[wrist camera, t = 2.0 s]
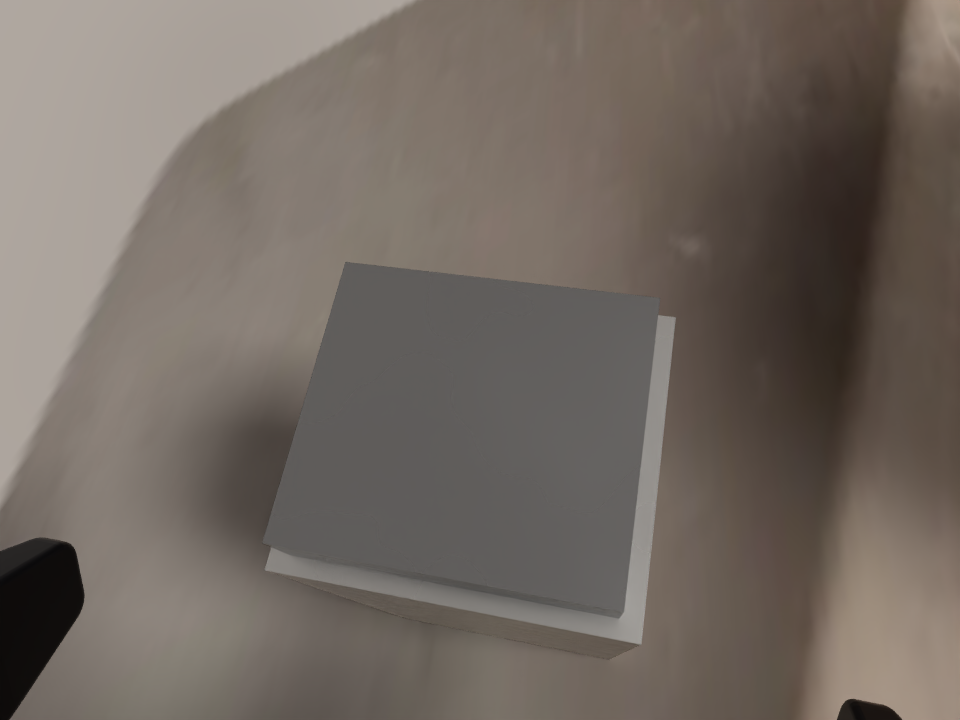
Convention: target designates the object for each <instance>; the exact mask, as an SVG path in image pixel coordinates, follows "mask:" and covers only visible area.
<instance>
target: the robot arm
mask: <svg viewBox="0 0 960 720" xmlns="http://www.w3.org/2000/svg"><path fill="white" fill-rule="evenodd" d="M84 596H85V595H84V589H83V584H82V579H81V574H80V569H79V564H78V559H77V554H76V551H75V549H74V547H73V546H72V545H71V544H69V543H67V542H64V541H59V540H54V539H49V538H35V539H32V540H29V541H26V542H24V543H21V544H18V545H16V546H13V547H10V548H8V549H5V550H2V551H0V720H10V718H11V717H12V715H13V714H14V712H15V711H16V710H17V708H18V707H19V705H20V704H21V702H22V701H23V699H24V698H25V696H26V695H27V693H28V692H29V690H30V689H31V687H32V686H33V684H34V683H35V681H36V680H37V678H38V676H39V675H40V673H41V672H42V670H43V669H44V667H45V666H46V664H47V663H48V661H49V660H50V658H51V657H52V655H53V654H54V652H55V651H56V649H57V648H58V646H59V645H60V643H61V642H62V640H63V639H64V637H65V636H66V634H67V633H68V631H69V630H70V628H71V627H72V625H73V624H74V622H75V621H76V619H77V618H78V616H79V614H80V612H81V610H82V607H83V603H84ZM837 720H902V719H901V718H900V716H899V715H898V714H897V713H896V712H895V711H893V710H892V709H891V708H889V707H887V706H885V705H881V704H876V703H871V702H866V701H861V700H856V699H849V700H847V701H845V702H844V704H843V705H842V707H841V709H840V712H839V715H838V718H837Z"/></svg>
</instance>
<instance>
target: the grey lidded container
mask: <svg viewBox="0 0 960 720" xmlns="http://www.w3.org/2000/svg"><path fill="white" fill-rule="evenodd" d="M659 304H660V298H656V297H647V296H639V295H630V294H621V293H612V292H604V291H595V290H586V289H577V288H569V287H560V286H551V285H542V284H534V283H525V282H516V281H507V280H499V279H490V278H481V277H472V276H464V275H455V274H446V273H437V272H429V271H420V270H411V269H402V268H394V267H385V266H376V265H367V264H359V263H350V262H345V265H344V269H343V272H342V275H341V279H340V282H339V286H338V289H337V292H336V296H335V299H334V302H333V306H332V309H331V313H330V316H329V319H328V323H327V326H326V329H325V333H324V336H323V340H322V343H321V346H320V350H319V353H318V356H317V360H316V363H315V366H314V370H313V373H312V377H311V380H310V383H309V387H308V390H307V393H306V397H305V400H304V404H303V407H302V410H301V414H300V417H299V420H298V424H297V427H296V431H295V434H294V437H293V441H292V444H291V447H290V451H289V454H288V457H287V461H286V464H285V468H284V471H283V474H282V478H281V481H280V484H279V488H278V491H277V495H276V498H275V501H274V505H273V508H272V511H271V515H270V518H269V522H268V525H267V528H266V532H265V535H264V538H263V542H262V543H263V544H265V545H267V546H270V547H271V550H270V553H269V556H268V560H267V563H266V567H265V571H268V572H271V573H274V574H277V575H280V576H283V577H286V578H289V579H292V580H295V581H297V582H300V583H303V584H306V585H309V586H312V587H315V588H318V589H321V590H324V591H327V592H329V593H332V594H335V595H338V596H341V597H344V598H347V599H350V600H353V601H356V602H359V603H361V604H364V605H367V606H370V607H373V608H376V609H379V610H382V611H385V612H388V613H391V614H393V615H396V616H399V617H402V618H406V619H411V620H416V621H421V622H426V623H430V624H435V625H440V626H445V627H450V628H455V629H460V630H465V631H470V632H475V633H480V634H485V635H490V636H495V637H500V638H504V639H509V640H514V641H519V642H524V643H529V644H534V645H539V646H544V647H549V648H554V649H559V650H564V651H569V652H574V653H579V654H583V655H588V656H593V657H598V658H603V659H608V660H609V659H612V658H614V657H616V656H618V655H620V654H622V653H624V652H627V651H629V650H631V649H633V648H635V647H637V646H639V645H641V642H642V633H643V623H644V614H645V604H646V595H647V585H648V576H649V566H650V557H651V547H652V538H653V528H654V519H655V509H656V500H657V490H658V481H659V471H660V461H661V452H662V442H663V433H664V423H665V414H666V404H667V395H668V385H669V376H670V366H671V357H672V347H673V338H674V328H675V319H676V317H668V316H660V315H658V312H659Z"/></svg>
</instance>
